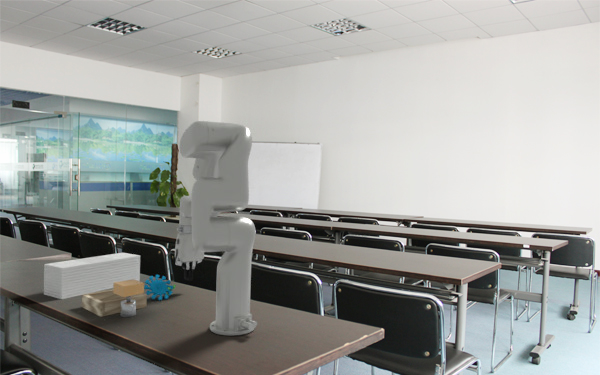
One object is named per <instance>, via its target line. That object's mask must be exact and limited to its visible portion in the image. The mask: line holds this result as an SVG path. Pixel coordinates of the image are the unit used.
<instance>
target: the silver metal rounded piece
mask: <svg viewBox="0 0 600 375" xmlns="http://www.w3.org/2000/svg"><path fill="white" fill-rule="evenodd" d="M119 314H120V317H123V318H132V317H134V316H136V315H137V309H136V301H135V300H131V296H127V297H126V300H124V301H121V311H120V313H119Z"/></svg>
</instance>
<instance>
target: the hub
mask: <svg viewBox="0 0 600 375" xmlns="http://www.w3.org/2000/svg"><path fill="white" fill-rule="evenodd" d="M144 286H145V282H142V281H137V280H134V279H133V280H126V281H120V282H114V288H112V289H113V293H115V294H117V295H119V296H122V297H127V296H137V295H142V294H145V289H144Z"/></svg>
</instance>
